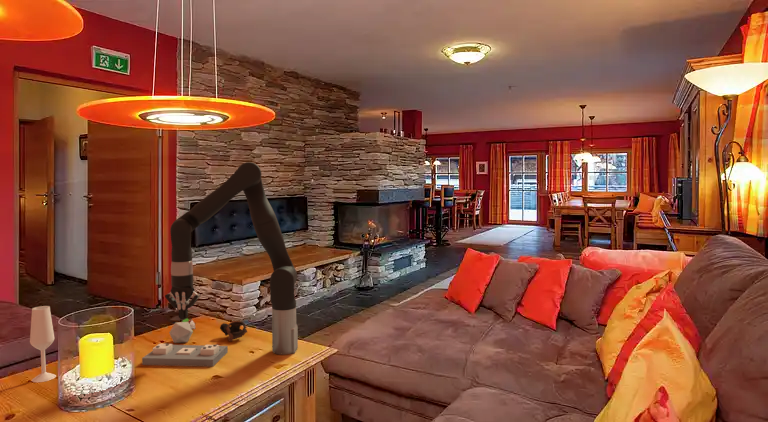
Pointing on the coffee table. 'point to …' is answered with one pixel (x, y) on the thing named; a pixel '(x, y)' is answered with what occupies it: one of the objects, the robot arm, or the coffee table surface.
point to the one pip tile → (186, 351)
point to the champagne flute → (42, 337)
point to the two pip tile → (162, 349)
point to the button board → (184, 357)
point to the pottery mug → (233, 329)
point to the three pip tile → (210, 350)
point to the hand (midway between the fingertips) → (183, 318)
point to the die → (181, 332)
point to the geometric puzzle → (190, 323)
